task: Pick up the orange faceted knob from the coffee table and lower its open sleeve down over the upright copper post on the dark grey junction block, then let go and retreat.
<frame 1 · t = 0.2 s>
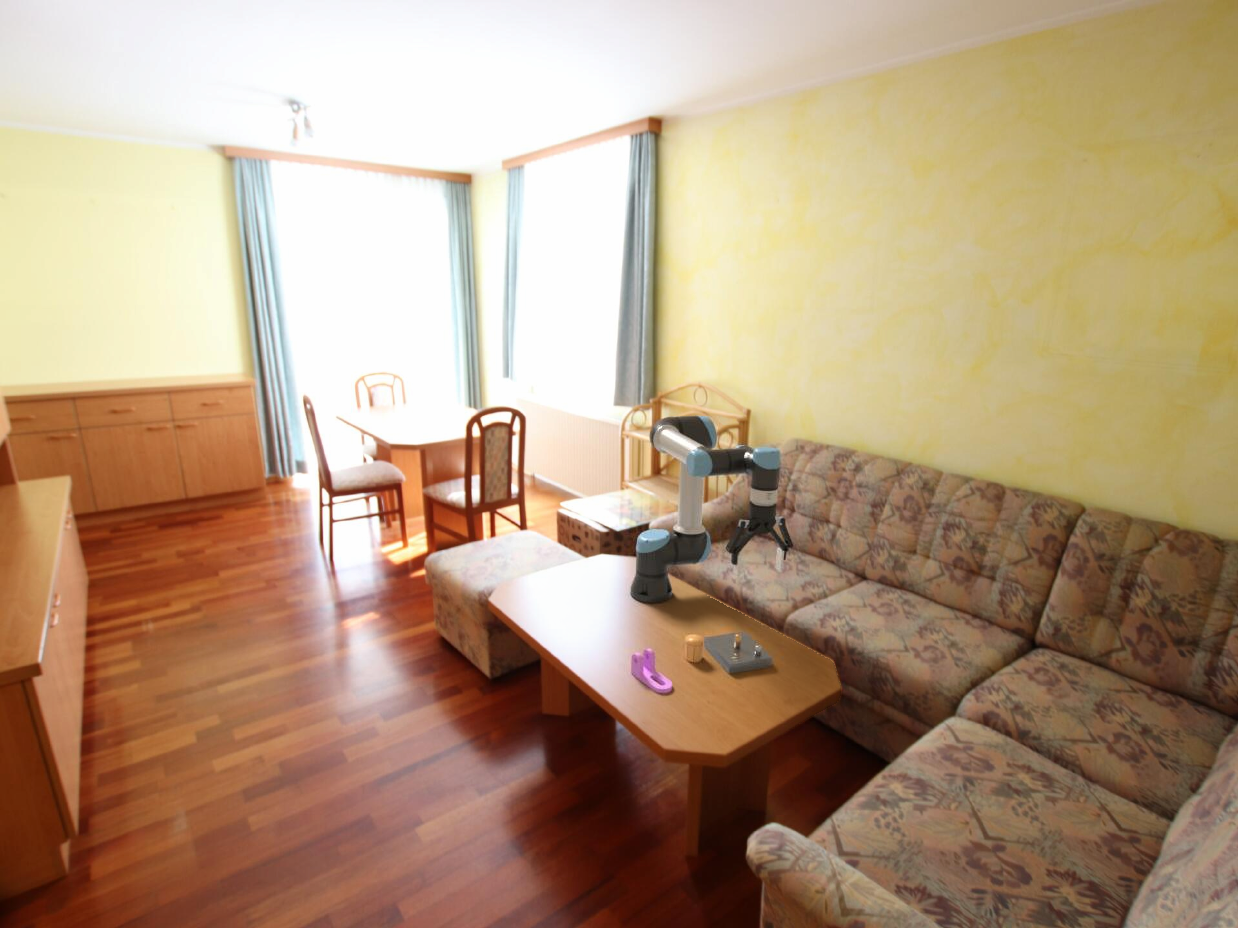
hand: (757, 572, 187), 27 cm above the table, fingers open, 13 cm apart
orange faceted knob: (693, 657, 193), on the table
bracket: (653, 682, 181), on the table
junction block: (736, 655, 194), on the table
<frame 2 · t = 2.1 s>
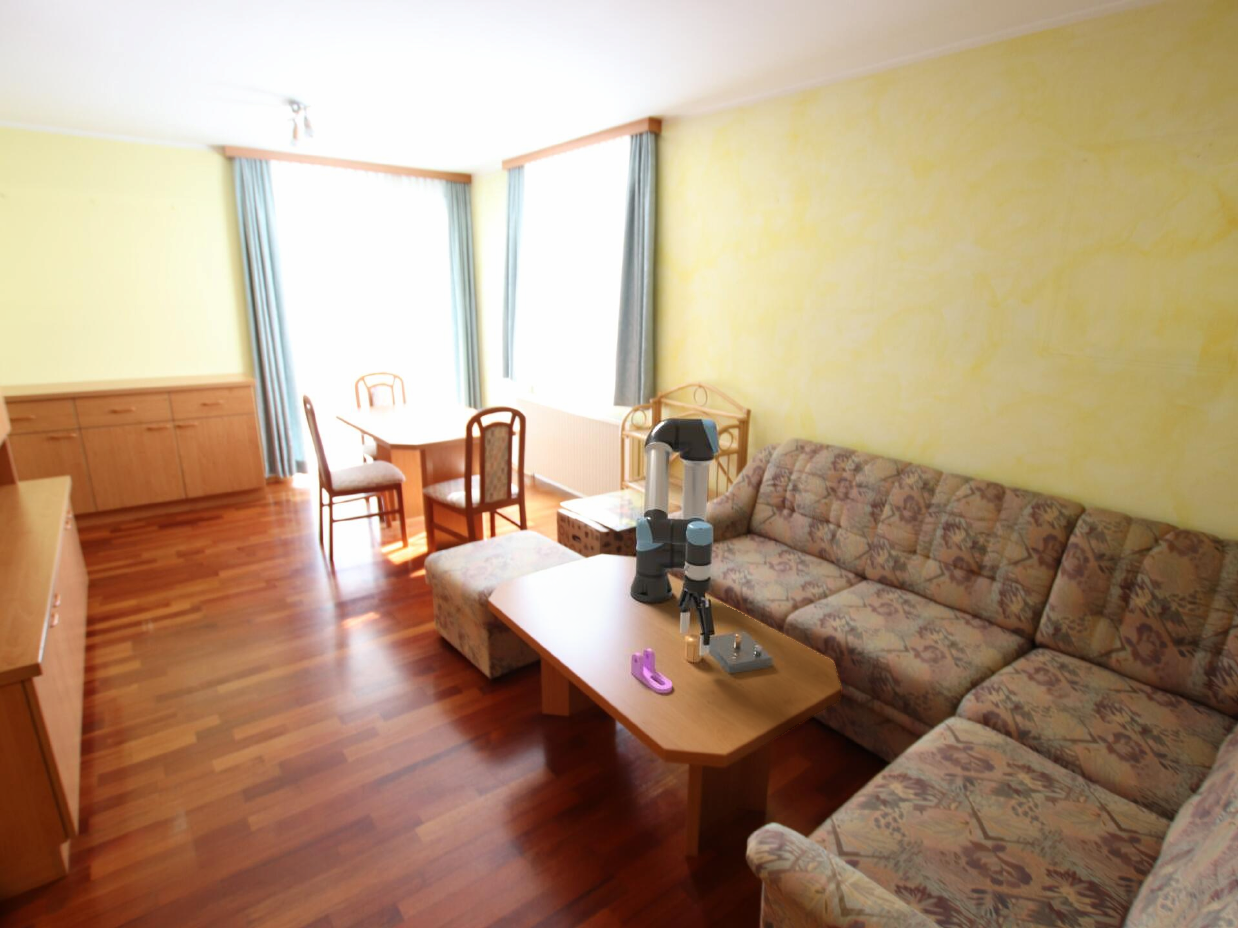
hand: (693, 642, 191), 5 cm above the table, fingers open, 13 cm apart
nothing on the table moved.
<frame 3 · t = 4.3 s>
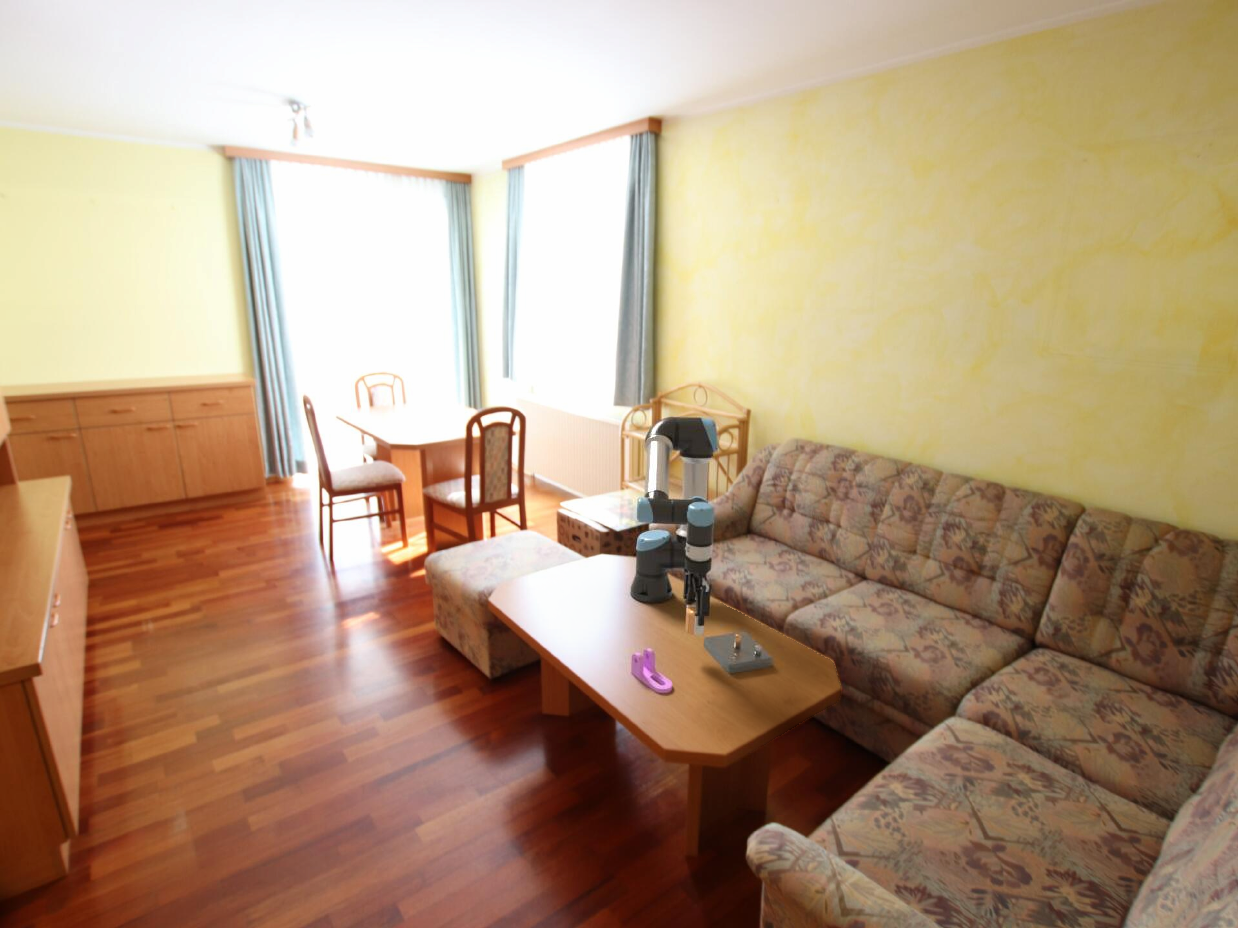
hand: (694, 629, 191), 9 cm above the table, fingers closed on orange faceted knob, 5 cm apart
orange faceted knob: (694, 630, 191), point 9 cm above the table, touching gripper
everything else where it was.
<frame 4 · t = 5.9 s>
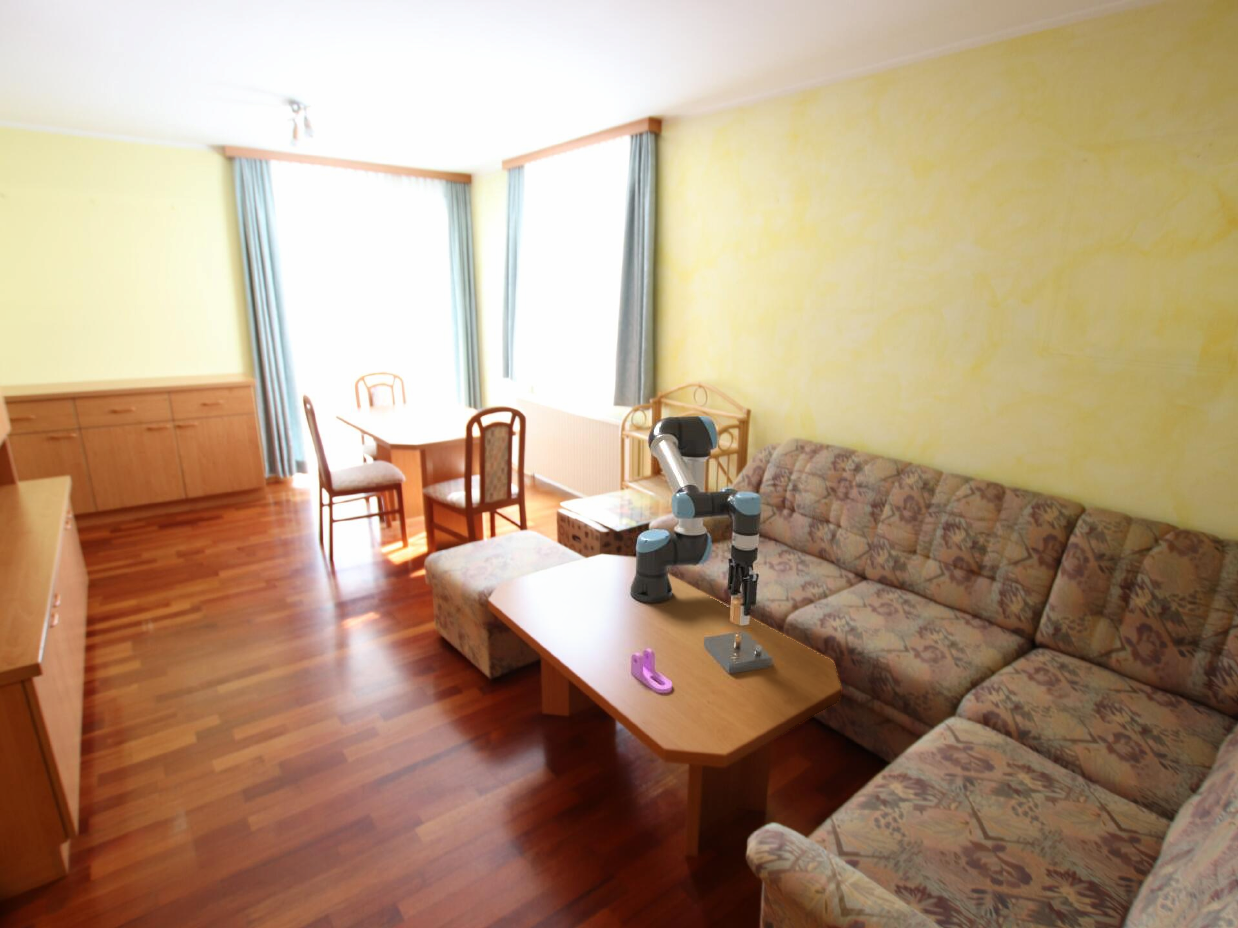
hand: (739, 619, 191), 12 cm above the table, fingers closed on orange faceted knob, 5 cm apart
orange faceted knob: (739, 620, 191), point 12 cm above the table, touching gripper
everything else where it was.
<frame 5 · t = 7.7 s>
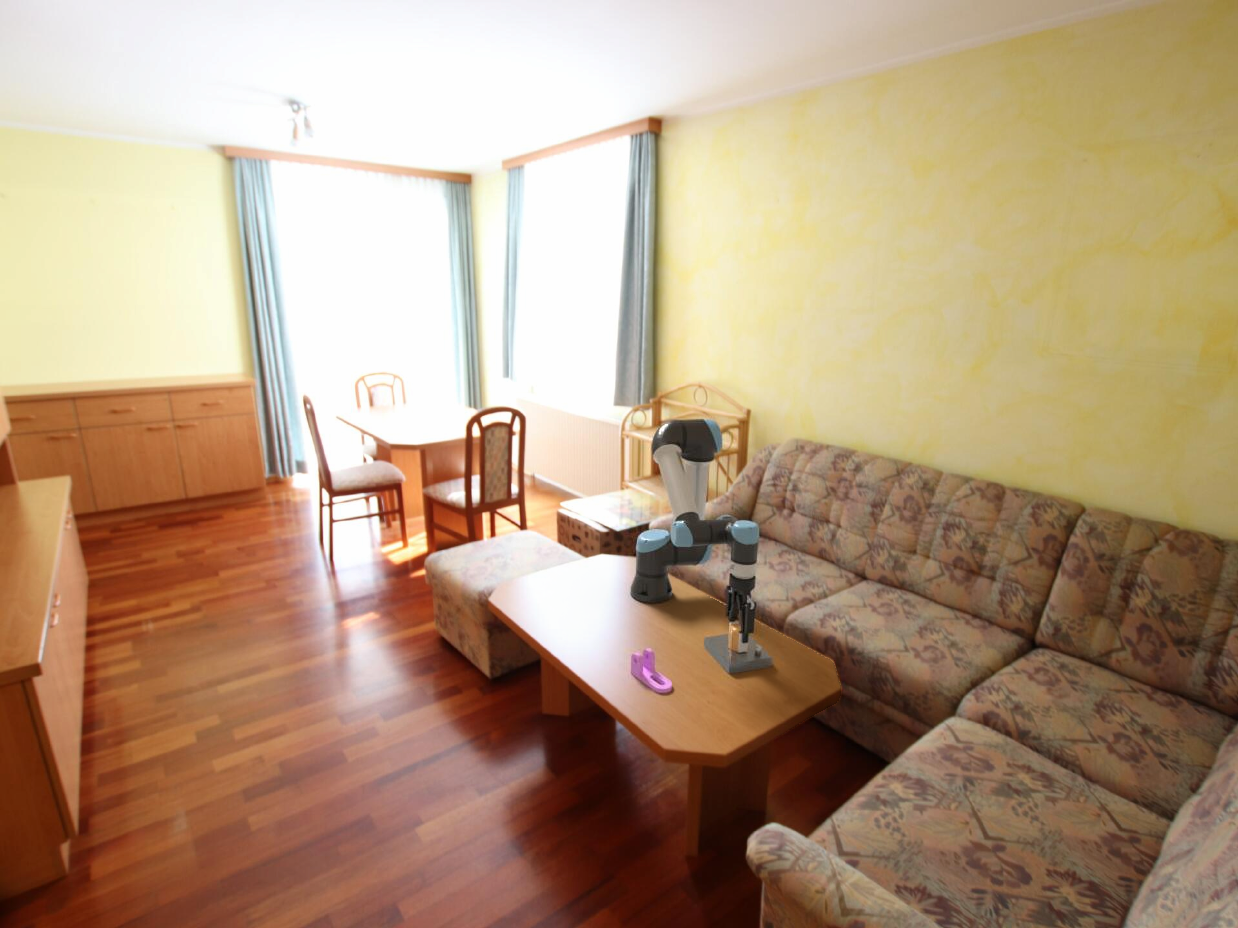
hand: (737, 646, 193), 3 cm above the table, fingers closed on orange faceted knob, 5 cm apart
orange faceted knob: (737, 647, 194), point 3 cm above the table, touching gripper
everything else where it was.
when the fingers open (3 cm above the table, at t = 8.1 s): orange faceted knob stays where it is, resting on junction block.
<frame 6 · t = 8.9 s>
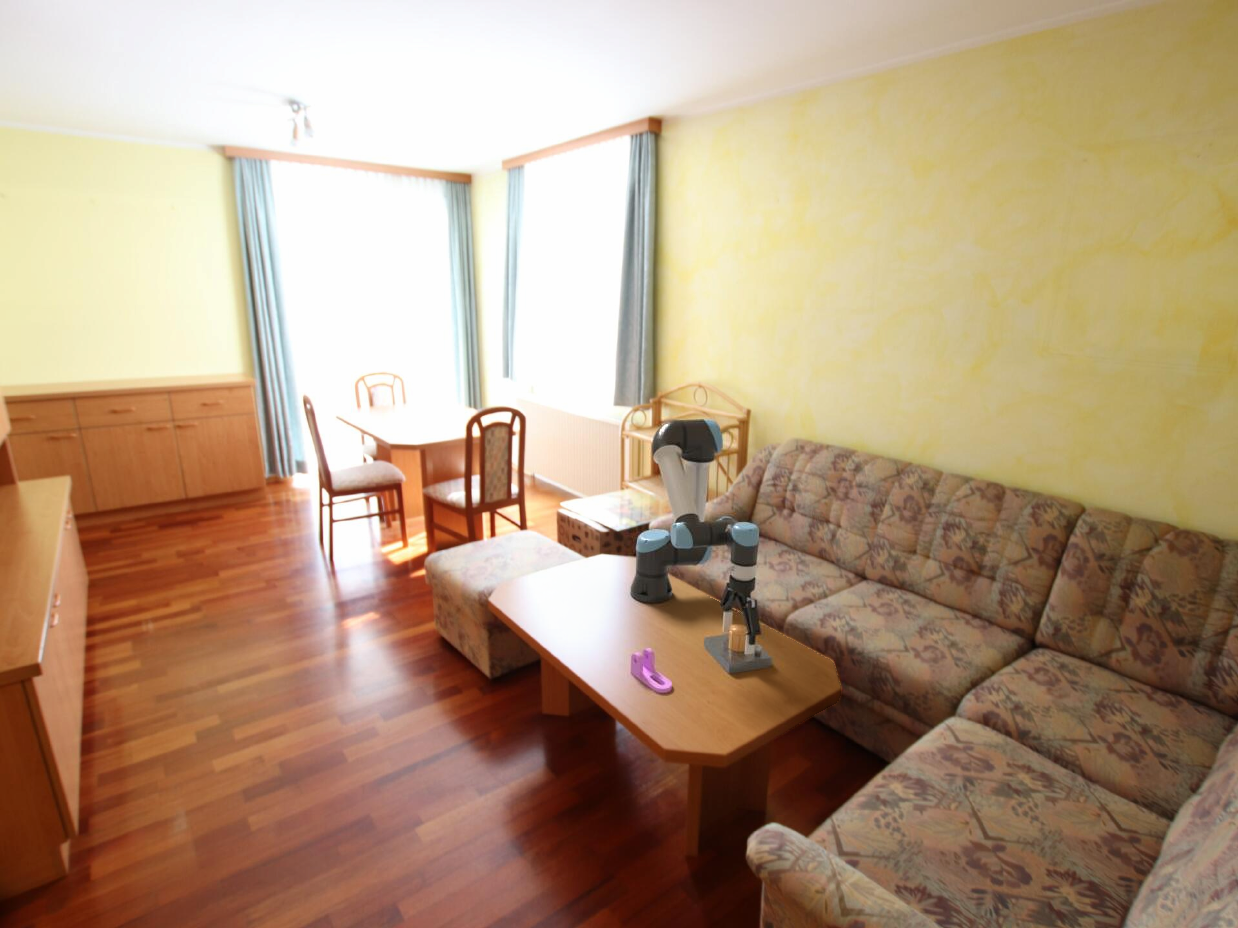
hand: (737, 641, 193), 5 cm above the table, fingers open, 13 cm apart
orange faceted knob: (737, 647, 193), point 3 cm above the table, touching junction block
everything else where it was.
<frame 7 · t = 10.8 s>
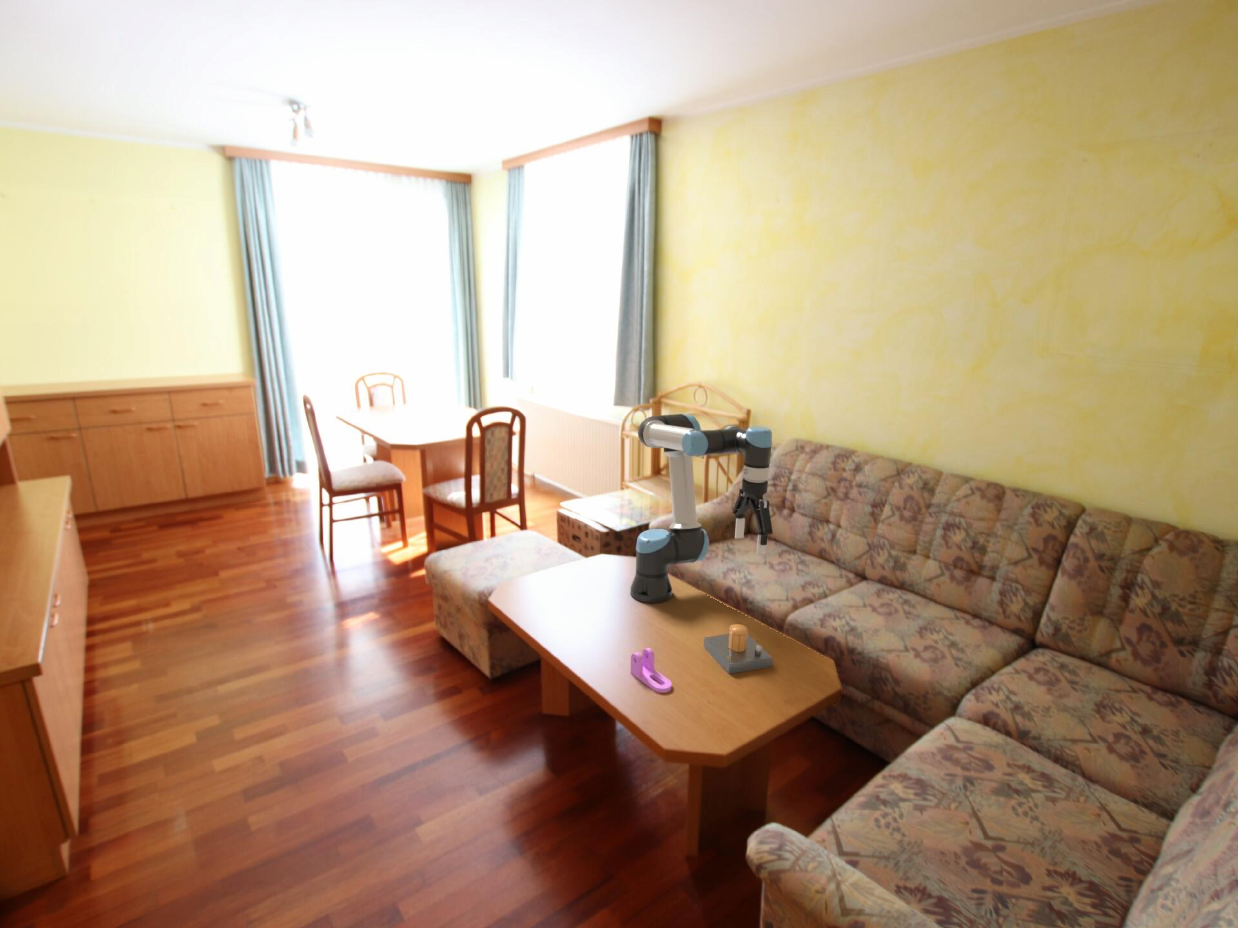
hand: (749, 545, 198), 31 cm above the table, fingers open, 13 cm apart
nothing on the table moved.
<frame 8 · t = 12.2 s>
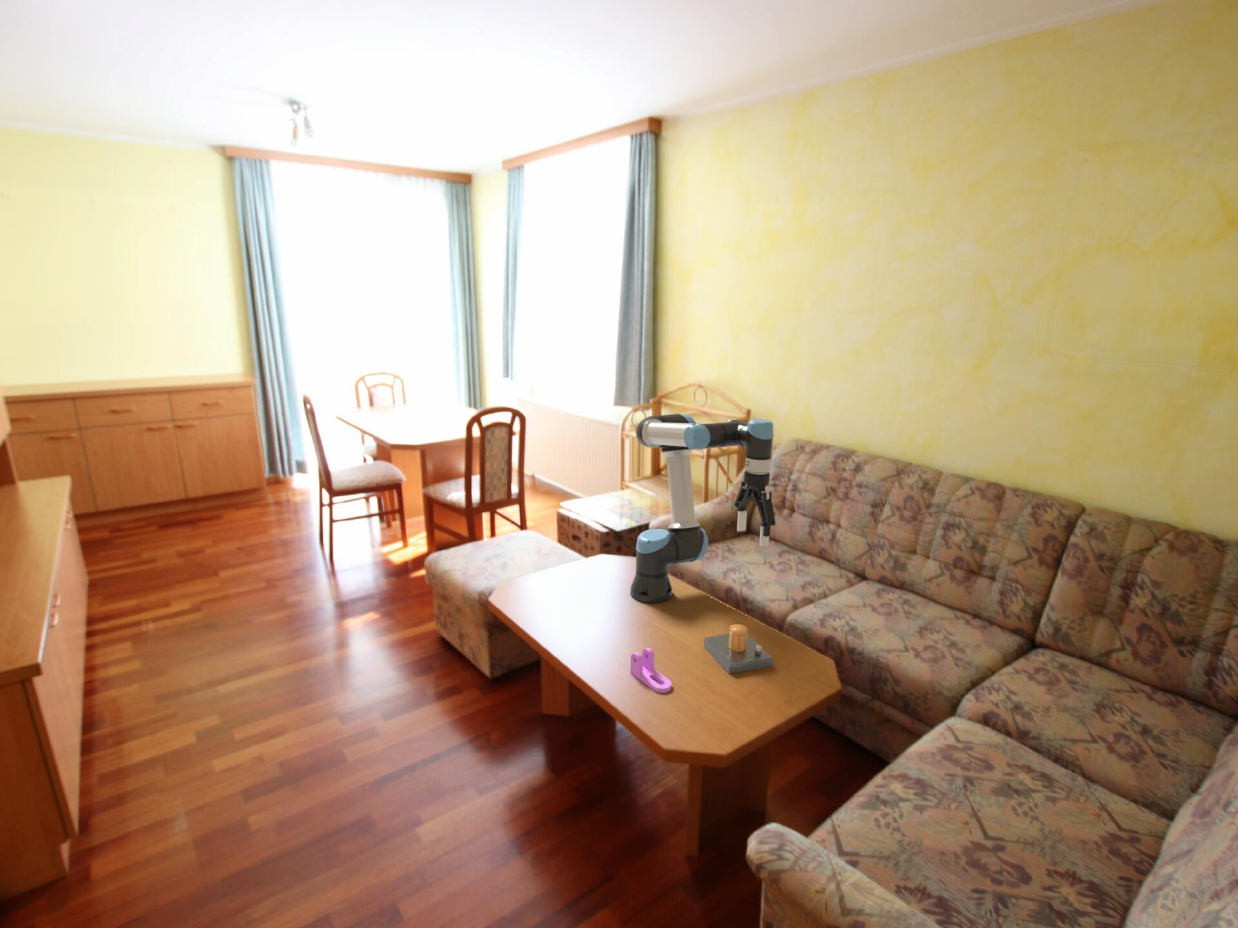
hand: (752, 538, 199), 33 cm above the table, fingers open, 13 cm apart
nothing on the table moved.
at the end: orange faceted knob 0.1 cm off-centre on the junction block, point 3.0 cm above the junction block's base; orange faceted knob tilted 0°; the gripper is holding nothing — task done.
